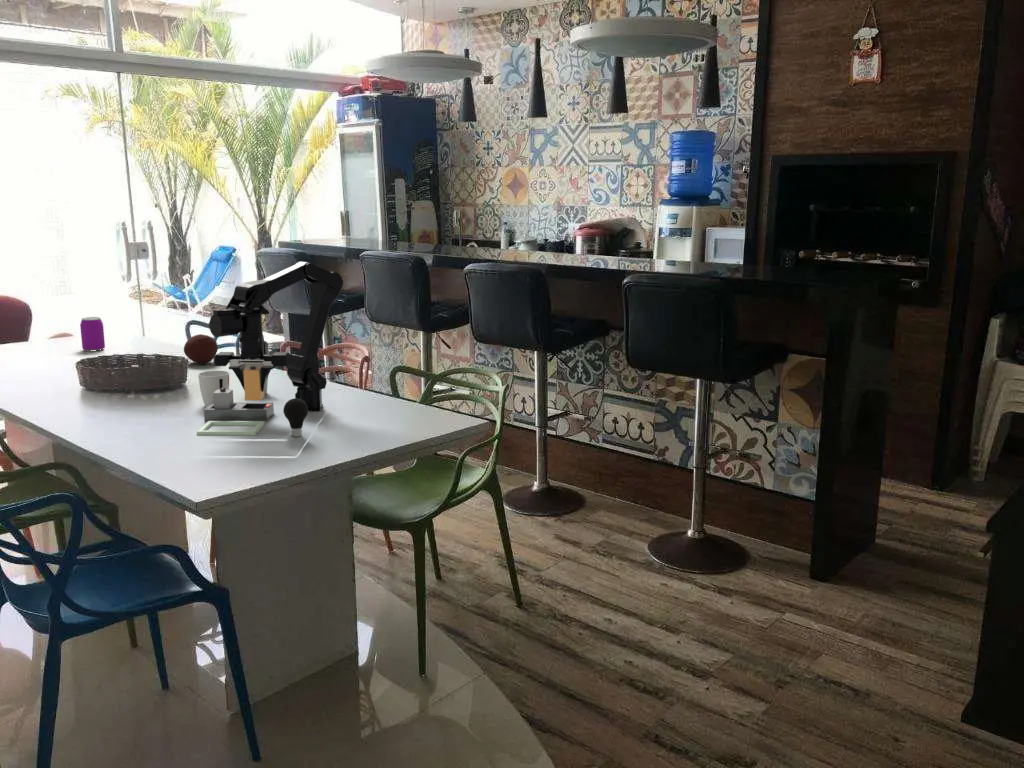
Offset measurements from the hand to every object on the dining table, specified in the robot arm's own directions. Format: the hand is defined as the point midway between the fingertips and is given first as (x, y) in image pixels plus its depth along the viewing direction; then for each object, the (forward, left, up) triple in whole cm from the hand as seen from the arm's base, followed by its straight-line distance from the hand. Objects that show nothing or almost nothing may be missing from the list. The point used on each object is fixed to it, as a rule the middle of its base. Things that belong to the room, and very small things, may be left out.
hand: (254, 391), depth 224 cm
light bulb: (-14, +16, -8) cm, 23 cm away
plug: (0, 0, -2) cm, 2 cm away
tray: (+3, +12, -8) cm, 15 cm away
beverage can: (+84, -101, -8) cm, 132 cm away
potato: (+37, -77, -8) cm, 86 cm away
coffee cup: (+7, -31, -8) cm, 33 cm away
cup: (+14, -13, -8) cm, 21 cm away
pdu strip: (+4, 0, -8) cm, 9 cm away
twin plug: (+8, 0, -7) cm, 11 cm away
